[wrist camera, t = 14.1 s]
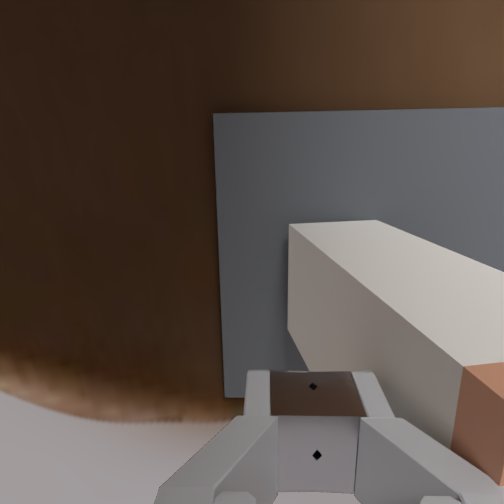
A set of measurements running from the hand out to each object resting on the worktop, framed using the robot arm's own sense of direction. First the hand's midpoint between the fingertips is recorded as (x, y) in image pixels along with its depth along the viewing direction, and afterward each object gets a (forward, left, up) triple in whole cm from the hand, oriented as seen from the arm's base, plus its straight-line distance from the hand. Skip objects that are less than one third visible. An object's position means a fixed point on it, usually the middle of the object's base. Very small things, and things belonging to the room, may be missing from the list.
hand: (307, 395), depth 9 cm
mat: (-6, 0, -10) cm, 11 cm away
